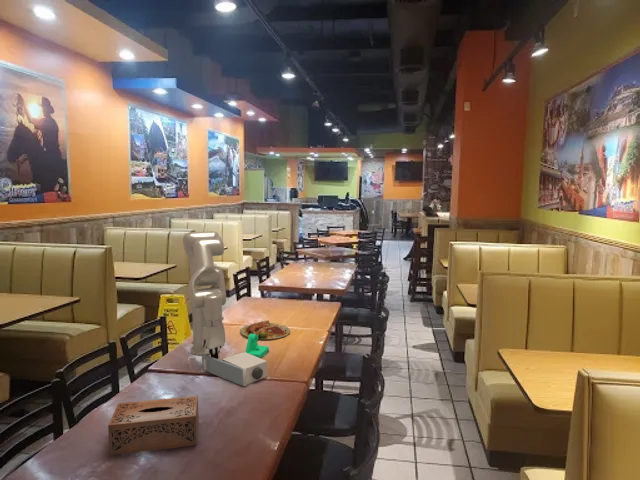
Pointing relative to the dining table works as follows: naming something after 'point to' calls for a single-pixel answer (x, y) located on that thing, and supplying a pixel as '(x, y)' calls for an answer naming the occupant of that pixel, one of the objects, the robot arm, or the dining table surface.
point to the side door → (224, 370)
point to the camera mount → (255, 347)
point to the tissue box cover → (154, 425)
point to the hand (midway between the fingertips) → (214, 361)
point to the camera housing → (249, 366)
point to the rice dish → (265, 330)
